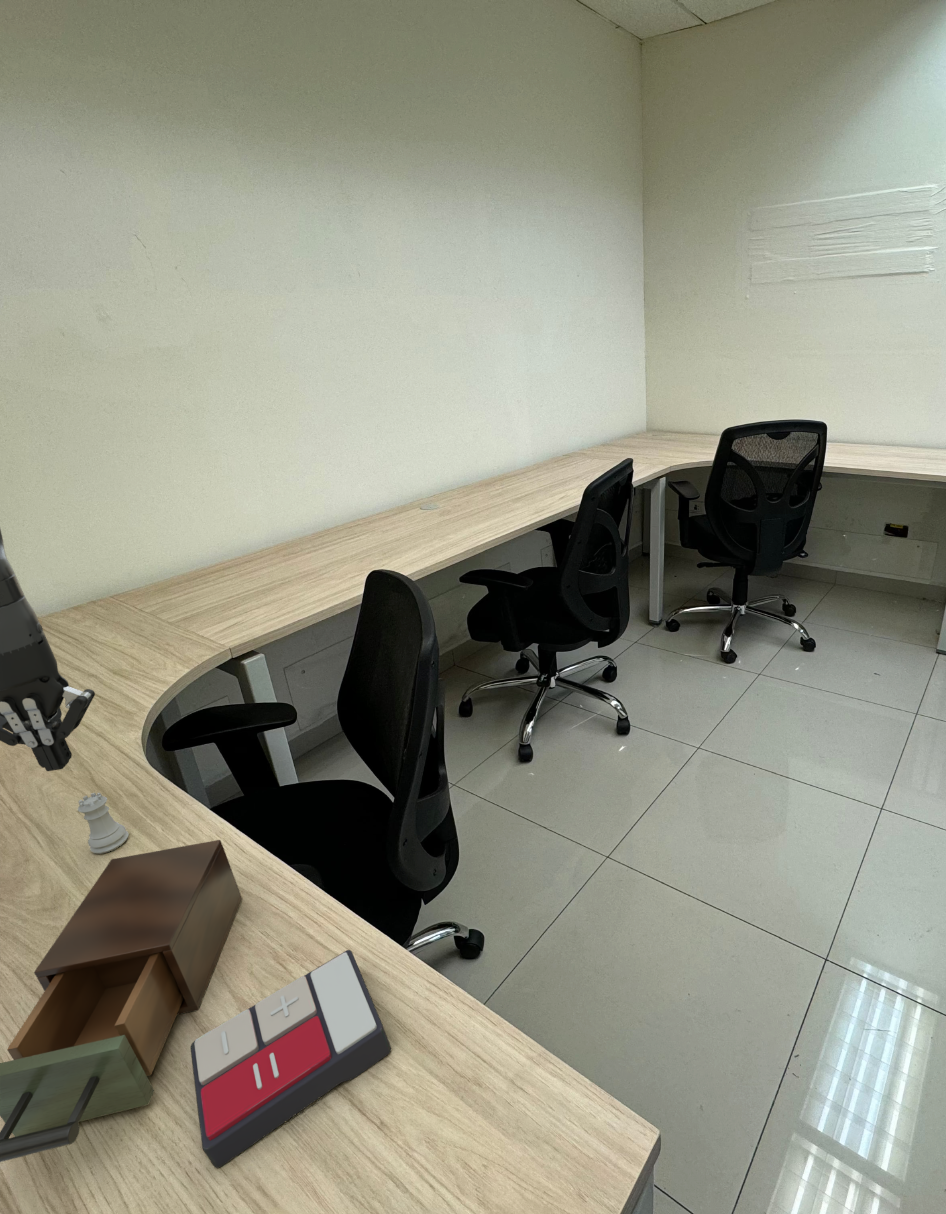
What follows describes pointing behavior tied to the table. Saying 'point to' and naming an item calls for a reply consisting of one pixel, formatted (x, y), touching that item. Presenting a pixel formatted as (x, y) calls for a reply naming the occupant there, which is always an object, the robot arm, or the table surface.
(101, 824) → the rook chess piece
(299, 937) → the table surface
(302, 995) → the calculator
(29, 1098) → the drawer
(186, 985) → the cabinet
